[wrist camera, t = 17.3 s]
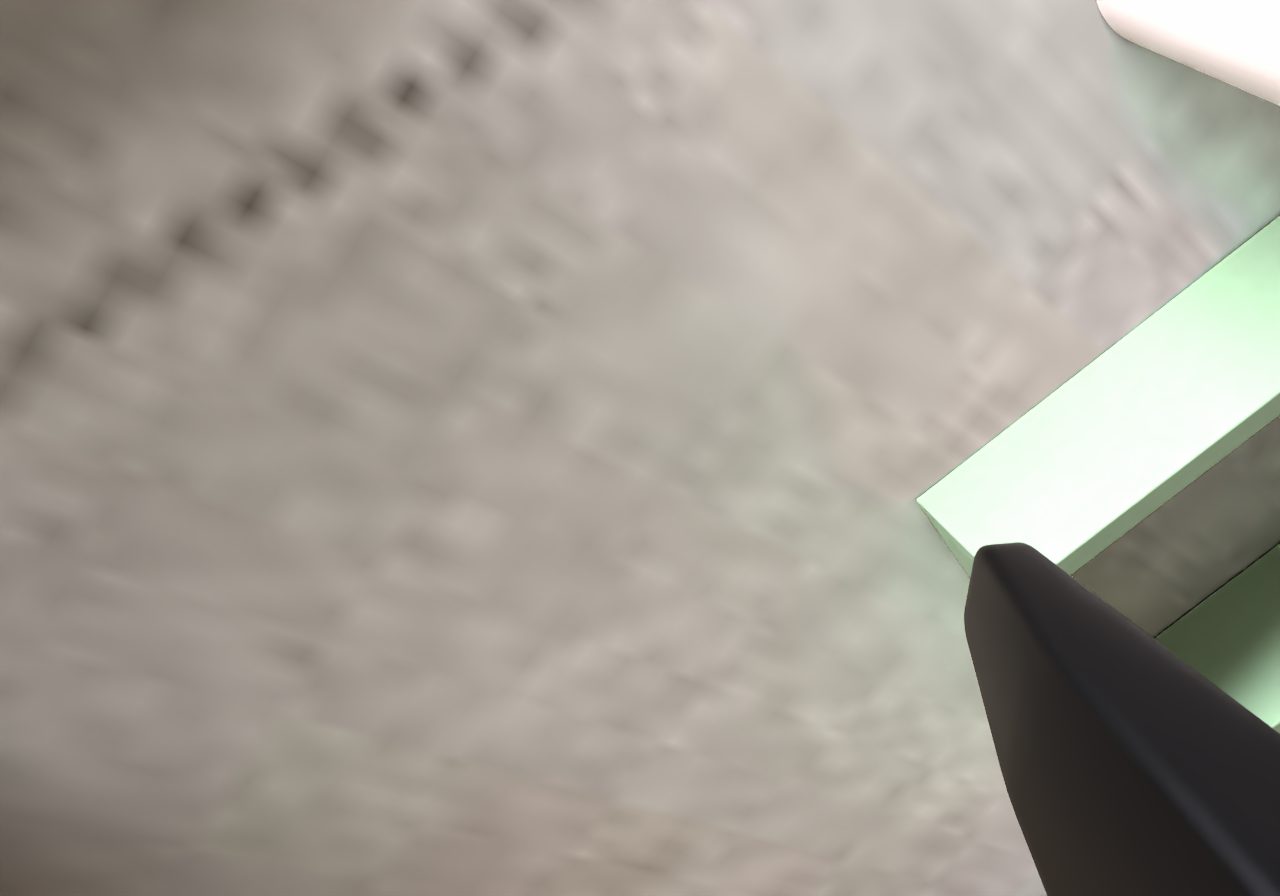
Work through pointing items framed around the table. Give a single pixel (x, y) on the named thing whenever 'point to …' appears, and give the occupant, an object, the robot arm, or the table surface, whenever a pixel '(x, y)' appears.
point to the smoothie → (1208, 37)
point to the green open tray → (1147, 459)
